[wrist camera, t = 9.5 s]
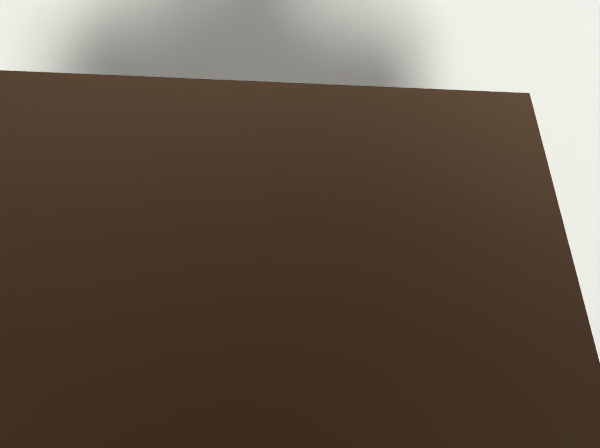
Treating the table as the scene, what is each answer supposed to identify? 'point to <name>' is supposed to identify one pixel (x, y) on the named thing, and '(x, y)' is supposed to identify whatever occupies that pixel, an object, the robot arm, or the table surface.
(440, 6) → the table surface
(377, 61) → the table surface
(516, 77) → the table surface
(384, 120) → the walnut pillar
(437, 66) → the table surface
